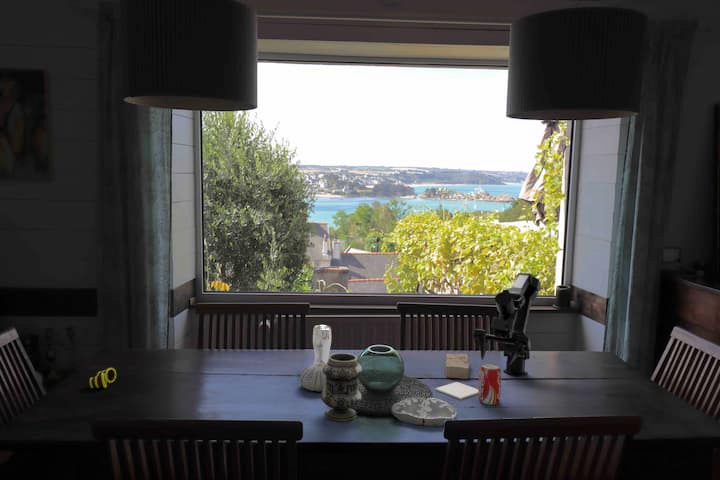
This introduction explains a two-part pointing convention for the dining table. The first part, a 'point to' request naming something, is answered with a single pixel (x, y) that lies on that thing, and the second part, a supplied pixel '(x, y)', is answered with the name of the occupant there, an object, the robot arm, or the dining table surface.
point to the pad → (458, 390)
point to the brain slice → (424, 411)
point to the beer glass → (321, 343)
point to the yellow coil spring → (103, 378)
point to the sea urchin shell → (314, 378)
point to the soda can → (489, 384)
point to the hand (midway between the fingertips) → (495, 361)
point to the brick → (457, 366)
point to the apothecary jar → (341, 386)
